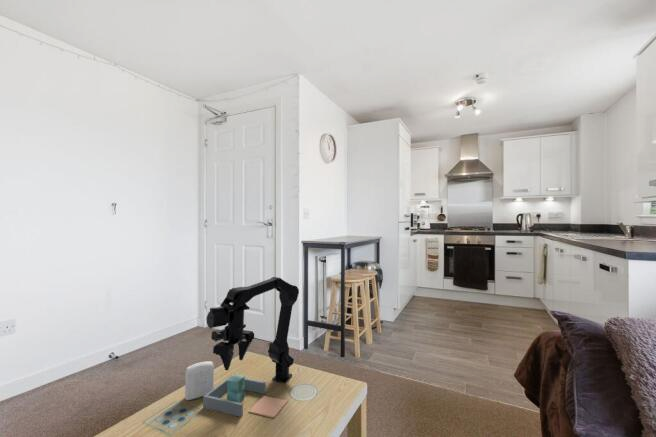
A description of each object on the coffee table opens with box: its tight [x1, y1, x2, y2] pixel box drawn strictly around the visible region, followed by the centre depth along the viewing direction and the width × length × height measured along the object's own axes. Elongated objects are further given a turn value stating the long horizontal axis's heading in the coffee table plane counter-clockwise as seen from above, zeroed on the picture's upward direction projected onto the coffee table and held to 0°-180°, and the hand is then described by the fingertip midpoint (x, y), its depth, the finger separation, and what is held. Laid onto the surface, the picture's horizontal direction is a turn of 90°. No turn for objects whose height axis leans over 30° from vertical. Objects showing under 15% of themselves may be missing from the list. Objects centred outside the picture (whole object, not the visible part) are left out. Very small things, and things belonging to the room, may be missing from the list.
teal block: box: [226, 374, 246, 403], centre depth 113 cm, size 4×4×8 cm
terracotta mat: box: [248, 395, 288, 419], centre depth 108 cm, size 10×10×1 cm
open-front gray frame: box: [202, 375, 267, 418], centre depth 113 cm, size 16×16×4 cm
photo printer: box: [184, 360, 215, 401], centre depth 116 cm, size 10×4×12 cm, turn 123°
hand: (234, 365), depth 112 cm, fingers open, 9 cm apart
